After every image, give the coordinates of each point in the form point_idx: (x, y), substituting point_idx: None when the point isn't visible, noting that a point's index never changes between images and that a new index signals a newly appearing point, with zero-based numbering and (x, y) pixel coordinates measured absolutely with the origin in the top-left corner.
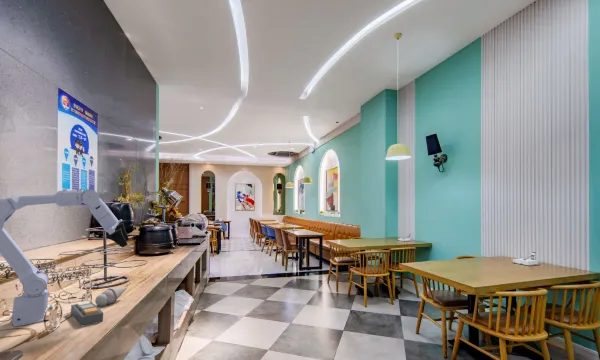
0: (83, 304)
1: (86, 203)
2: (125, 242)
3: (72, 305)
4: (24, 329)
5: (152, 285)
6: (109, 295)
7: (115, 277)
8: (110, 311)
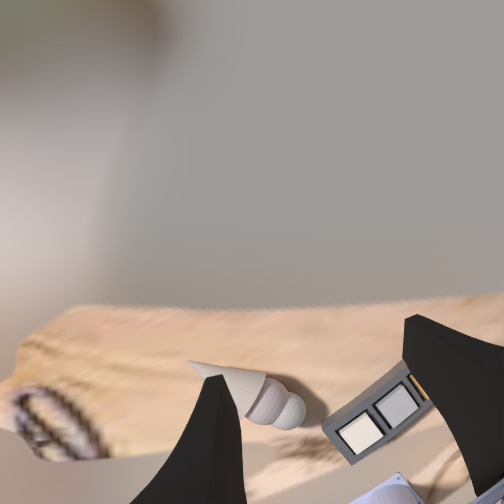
0: (376, 428)
1: None
2: (438, 327)
3: (357, 460)
4: (442, 478)
5: (83, 309)
6: (283, 393)
7: (25, 422)
8: (346, 356)
